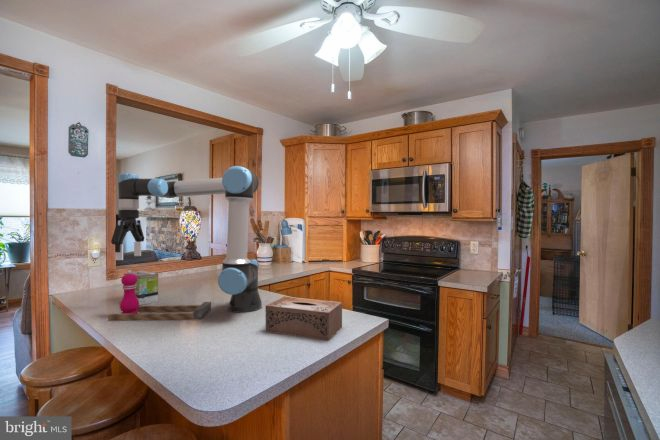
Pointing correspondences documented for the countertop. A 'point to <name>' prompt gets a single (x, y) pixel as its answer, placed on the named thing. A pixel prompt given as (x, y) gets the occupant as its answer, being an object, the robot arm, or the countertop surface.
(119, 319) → the guide track
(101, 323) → the countertop surface
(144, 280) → the tea box
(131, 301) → the pepper mill
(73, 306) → the countertop surface
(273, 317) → the tissue box cover
